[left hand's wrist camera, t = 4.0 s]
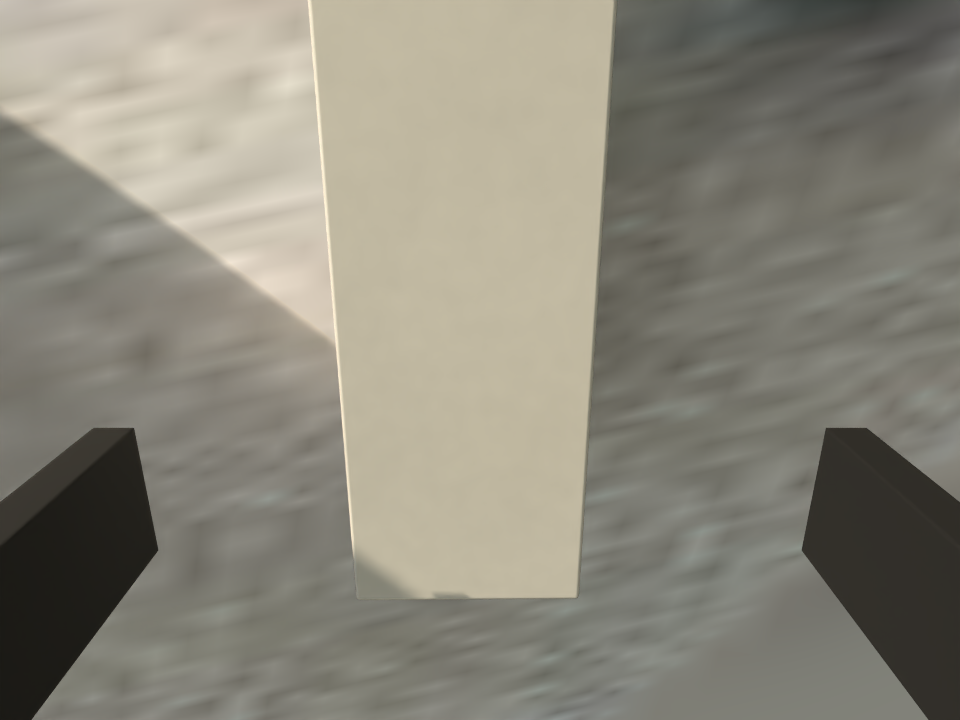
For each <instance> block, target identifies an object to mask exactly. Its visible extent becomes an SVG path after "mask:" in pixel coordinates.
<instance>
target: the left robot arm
mask: <svg viewBox="0 0 960 720" xmlns="http://www.w3.org/2000/svg"><path fill="white" fill-rule="evenodd" d="M157 551H158V546H157V541H156V536H155V531H154V526H153V521H152V516H151V511H150V506H149V501H148V496H147V491H146V486H145V481H144V476H143V471H142V466H141V461H140V456H139V451H138V446H137V441H136V436H135V431H134V428H93V429H92V430H90V431H89V432H88V433H87V434H85V435H84V436H83V437H82V438H80V439H79V440H78V441H77V442H75V443H74V444H73V445H72V446H70V447H69V448H68V449H67V450H65V451H64V452H63V453H62V454H60V455H59V456H58V457H57V458H55V459H54V460H53V461H51V462H50V463H49V464H48V465H46V466H45V467H44V468H43V469H41V470H40V471H39V472H38V473H36V474H35V475H34V476H33V477H31V478H30V479H29V480H28V481H26V482H25V483H24V484H23V485H21V486H20V487H19V488H18V489H16V490H15V491H14V492H13V493H11V494H10V495H9V496H8V497H6V498H5V499H4V500H3V501H1V502H0V720H32V718H33V717H34V716H35V714H36V713H37V712H38V710H39V709H40V708H41V706H42V705H43V704H44V702H45V701H46V700H47V698H48V697H49V696H50V694H51V693H52V692H53V690H54V689H55V688H56V686H57V685H58V684H59V682H60V681H61V680H62V678H63V677H64V676H65V674H66V673H67V672H68V670H69V669H70V668H71V666H72V665H73V664H74V662H75V661H76V660H77V658H78V657H79V655H80V654H81V653H82V651H83V650H84V649H85V647H86V646H87V645H88V643H89V642H90V641H91V639H92V638H93V637H94V635H95V634H96V633H97V631H98V630H99V629H100V627H101V626H102V625H103V623H104V622H105V621H106V619H107V618H108V617H109V615H110V614H111V613H112V611H113V610H114V609H115V607H116V606H117V605H118V603H119V602H120V601H121V599H122V598H123V597H124V595H125V594H126V593H127V591H128V590H129V589H130V587H131V586H132V585H133V583H134V582H135V581H136V579H137V578H138V577H139V575H140V574H141V573H142V571H143V570H144V569H145V567H146V566H147V565H148V563H149V562H150V561H151V559H152V558H153V557H154V555H155V554H156V553H157ZM802 551H803V553H804V554H805V555H806V557H807V558H808V559H809V561H810V562H811V563H812V565H813V566H814V567H815V569H816V570H817V571H818V573H819V574H820V575H821V577H822V578H823V579H824V581H825V582H826V583H827V585H828V586H829V587H830V589H831V590H832V591H833V593H834V594H835V595H836V597H837V598H838V599H839V601H840V602H841V603H842V605H843V606H844V607H845V609H846V610H847V611H848V613H849V614H850V615H851V617H852V618H853V619H854V621H855V622H856V623H857V625H858V626H859V627H860V629H861V630H862V631H863V633H864V634H865V635H866V637H867V638H868V639H869V641H870V642H871V643H872V645H873V646H874V647H875V649H876V650H877V651H878V653H879V654H880V655H881V657H882V658H883V660H884V661H885V662H886V663H887V665H888V666H889V668H890V669H891V670H892V672H893V673H894V674H895V676H896V677H897V678H898V680H899V681H900V682H901V683H902V685H903V686H904V688H905V689H906V690H907V692H908V693H909V694H910V696H911V697H912V698H913V700H914V701H915V702H916V704H917V705H918V706H919V708H920V709H921V710H922V712H923V713H924V714H925V716H926V717H927V718H928V720H960V502H959V501H957V500H956V499H955V498H954V497H952V496H951V495H950V494H949V493H947V492H946V491H945V490H944V489H942V488H941V487H940V486H939V485H937V484H936V483H935V482H934V481H932V480H931V479H930V478H929V477H927V476H926V475H925V474H924V473H922V472H921V471H920V470H919V469H917V468H916V467H915V466H914V465H912V464H911V463H910V462H909V461H907V460H906V459H905V458H903V457H902V456H901V455H900V454H898V453H897V452H896V451H895V450H893V449H892V448H891V447H890V446H888V445H887V444H886V443H885V442H883V441H882V440H881V439H880V438H878V437H877V436H876V435H875V434H873V433H872V432H871V431H870V430H868V429H867V428H826V431H825V436H824V441H823V446H822V451H821V456H820V461H819V466H818V471H817V476H816V481H815V486H814V491H813V496H812V501H811V506H810V511H809V516H808V521H807V526H806V531H805V536H804V541H803V546H802Z"/></svg>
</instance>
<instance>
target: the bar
mask: <svg viewBox="0 0 960 720" xmlns="http://www.w3.org/2000/svg"><path fill="white" fill-rule="evenodd" d="M308 6H309V18H310V31H311V43H312V55H313V68H314V80H315V93H316V105H317V117H318V130H319V142H320V155H321V167H322V179H323V192H324V204H325V217H326V229H327V241H328V254H329V266H330V279H331V291H332V303H333V316H334V328H335V341H336V353H337V365H338V378H339V390H340V402H341V415H342V427H343V440H344V452H345V464H346V477H347V489H348V502H349V514H350V526H351V539H352V551H353V564H354V576H355V588H356V597H357V599H358V600H428V599H575V598H578V596H579V586H580V570H581V555H582V539H583V524H584V508H585V493H586V477H587V462H588V446H589V431H590V415H591V400H592V384H593V369H594V353H595V338H596V322H597V307H598V291H599V276H600V260H601V245H602V229H603V214H604V198H605V183H606V167H607V152H608V136H609V121H610V106H611V90H612V75H613V59H614V44H615V28H616V13H617V0H308Z"/></svg>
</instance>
